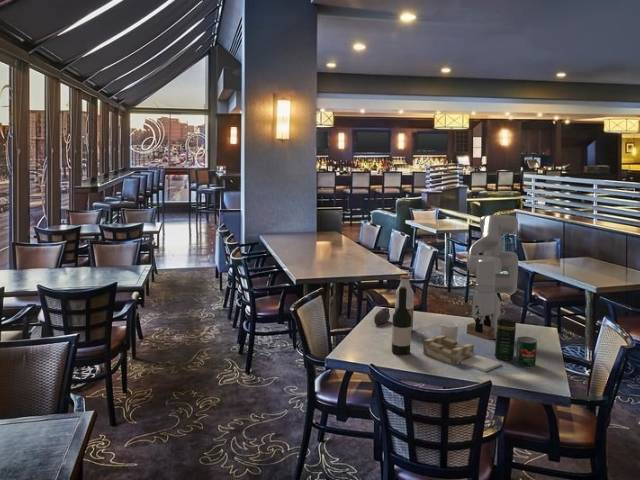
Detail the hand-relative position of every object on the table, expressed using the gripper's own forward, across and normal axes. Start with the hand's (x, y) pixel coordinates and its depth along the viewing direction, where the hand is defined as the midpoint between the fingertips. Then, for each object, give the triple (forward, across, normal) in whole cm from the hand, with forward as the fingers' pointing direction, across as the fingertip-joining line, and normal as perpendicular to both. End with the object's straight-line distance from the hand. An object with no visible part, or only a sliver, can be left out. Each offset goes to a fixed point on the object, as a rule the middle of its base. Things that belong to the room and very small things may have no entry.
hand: (482, 330), depth 224 cm
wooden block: (+2, 0, -1) cm, 3 cm away
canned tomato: (+15, -15, +12) cm, 24 cm away
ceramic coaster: (+15, 0, 0) cm, 15 cm away
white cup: (+15, -9, -24) cm, 30 cm away
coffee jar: (+15, -16, +1) cm, 22 cm away
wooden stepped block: (+15, +3, -15) cm, 21 cm away
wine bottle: (+15, +16, -31) cm, 38 cm away
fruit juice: (+15, -10, -53) cm, 56 cm away
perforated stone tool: (+15, -10, -69) cm, 71 cm away
